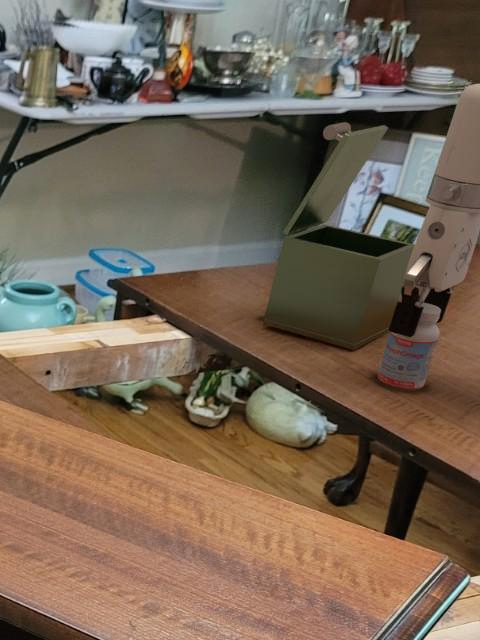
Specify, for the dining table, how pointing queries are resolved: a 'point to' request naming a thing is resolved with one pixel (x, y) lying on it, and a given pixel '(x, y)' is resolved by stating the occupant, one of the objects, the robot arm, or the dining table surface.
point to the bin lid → (335, 174)
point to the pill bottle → (411, 352)
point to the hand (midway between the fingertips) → (414, 326)
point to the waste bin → (337, 285)
